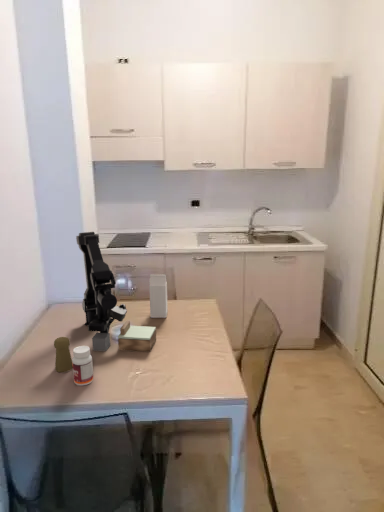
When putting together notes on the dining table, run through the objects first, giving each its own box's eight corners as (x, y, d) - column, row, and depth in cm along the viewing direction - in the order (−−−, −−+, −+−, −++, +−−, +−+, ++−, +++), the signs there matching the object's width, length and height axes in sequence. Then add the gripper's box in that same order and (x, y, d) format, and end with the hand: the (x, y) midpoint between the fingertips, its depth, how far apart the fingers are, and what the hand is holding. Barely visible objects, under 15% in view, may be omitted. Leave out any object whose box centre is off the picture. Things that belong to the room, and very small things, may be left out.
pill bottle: (70, 380, 134) (68, 348, 131) (88, 373, 137) (86, 342, 134) (79, 388, 129) (76, 355, 126) (96, 381, 133) (94, 349, 130)
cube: (93, 350, 153) (92, 338, 152) (97, 344, 158) (96, 332, 157) (105, 351, 153) (105, 338, 151) (110, 345, 157) (109, 333, 156)
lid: (118, 338, 152) (117, 330, 152) (126, 327, 162) (125, 319, 161) (149, 340, 151) (149, 332, 150) (155, 328, 160) (155, 321, 159)
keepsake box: (118, 349, 154) (118, 338, 152) (126, 338, 163) (126, 327, 162) (150, 351, 152) (149, 340, 151) (156, 339, 161) (155, 329, 160)
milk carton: (166, 317, 182) (165, 277, 178) (150, 317, 183) (148, 277, 178) (167, 311, 189) (166, 272, 185) (152, 311, 189) (150, 272, 185)
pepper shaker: (77, 365, 143) (74, 336, 140) (65, 374, 137) (62, 343, 135) (63, 362, 145) (60, 333, 142) (51, 370, 140) (48, 340, 137)
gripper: (115, 310, 145) (118, 351, 149) (130, 293, 163) (132, 329, 167) (85, 309, 147) (89, 349, 151) (103, 292, 165) (106, 328, 169)
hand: (105, 338), depth 159 cm, fingers closed
